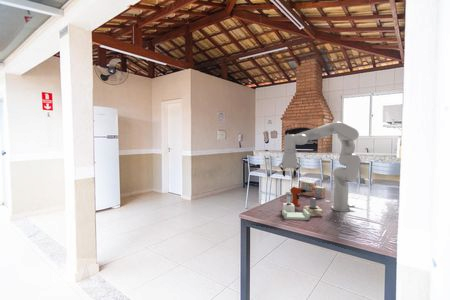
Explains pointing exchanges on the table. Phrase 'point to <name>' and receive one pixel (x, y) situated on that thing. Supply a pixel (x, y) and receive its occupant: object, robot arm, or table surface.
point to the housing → (289, 207)
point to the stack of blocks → (313, 189)
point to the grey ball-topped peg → (288, 198)
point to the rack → (296, 215)
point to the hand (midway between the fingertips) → (289, 176)
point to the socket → (314, 211)
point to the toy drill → (295, 196)
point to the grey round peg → (312, 203)
